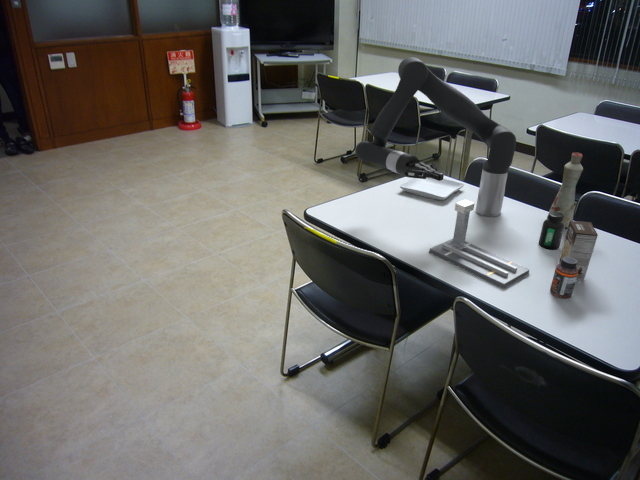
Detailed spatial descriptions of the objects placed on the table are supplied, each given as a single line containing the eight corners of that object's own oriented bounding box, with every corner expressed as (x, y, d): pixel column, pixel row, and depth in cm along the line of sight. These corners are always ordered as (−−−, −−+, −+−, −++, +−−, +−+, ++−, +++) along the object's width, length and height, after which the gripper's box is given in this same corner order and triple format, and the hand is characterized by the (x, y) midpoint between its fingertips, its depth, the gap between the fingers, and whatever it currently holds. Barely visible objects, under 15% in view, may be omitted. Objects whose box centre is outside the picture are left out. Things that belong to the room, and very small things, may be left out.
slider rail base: (455, 241, 182) (456, 234, 181) (528, 273, 163) (530, 266, 162) (429, 252, 174) (430, 245, 173) (503, 288, 155) (504, 280, 154)
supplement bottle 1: (548, 252, 177) (556, 219, 171) (533, 243, 182) (541, 211, 177) (563, 248, 179) (572, 216, 174) (548, 240, 185) (556, 208, 179)
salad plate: (419, 179, 238) (420, 172, 236) (464, 190, 227) (465, 183, 226) (397, 193, 223) (398, 185, 221) (444, 205, 212) (445, 197, 210)
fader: (457, 244, 176) (464, 199, 169) (467, 249, 173) (475, 203, 166) (448, 248, 173) (455, 202, 166) (458, 253, 171) (465, 206, 163)
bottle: (564, 231, 191) (584, 157, 179) (541, 223, 197) (558, 151, 185) (575, 225, 197) (595, 153, 184) (552, 217, 203) (570, 147, 190)
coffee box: (557, 264, 169) (568, 219, 162) (578, 267, 168) (591, 221, 160) (562, 279, 161) (575, 232, 153) (585, 281, 160) (599, 234, 152)
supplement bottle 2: (545, 288, 156) (554, 254, 151) (565, 287, 156) (574, 254, 151) (555, 299, 150) (564, 265, 145) (575, 298, 151) (585, 264, 146)
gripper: (390, 156, 176) (430, 170, 165) (416, 149, 184) (456, 162, 172) (388, 177, 180) (427, 192, 168) (413, 170, 187) (453, 184, 176)
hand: (442, 177), depth 170 cm, fingers closed
